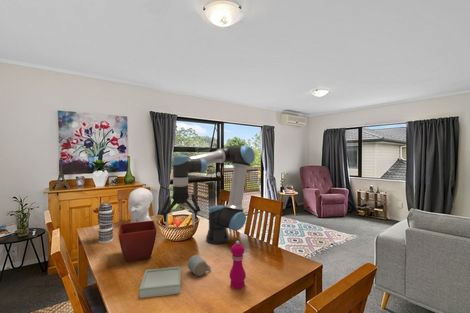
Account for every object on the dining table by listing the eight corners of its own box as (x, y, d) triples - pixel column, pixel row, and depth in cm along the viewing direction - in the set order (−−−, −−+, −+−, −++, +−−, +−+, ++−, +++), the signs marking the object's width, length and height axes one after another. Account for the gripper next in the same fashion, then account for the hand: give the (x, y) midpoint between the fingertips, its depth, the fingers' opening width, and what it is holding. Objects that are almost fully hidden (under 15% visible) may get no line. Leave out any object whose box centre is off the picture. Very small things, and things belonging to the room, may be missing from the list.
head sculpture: (119, 228, 184) (119, 189, 184) (136, 220, 207) (136, 185, 206) (143, 230, 181) (143, 190, 180) (157, 221, 203) (157, 186, 203)
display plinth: (180, 274, 116) (180, 266, 116) (180, 293, 100) (180, 284, 100) (145, 277, 112) (145, 269, 112) (139, 298, 97) (139, 288, 97)
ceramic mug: (195, 279, 112) (195, 262, 111) (187, 272, 118) (187, 256, 118) (214, 272, 118) (214, 257, 118) (205, 266, 125) (205, 251, 124)
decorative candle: (114, 241, 158) (114, 203, 158) (98, 244, 153) (98, 205, 152) (112, 237, 166) (112, 201, 165) (97, 239, 160) (97, 202, 160)
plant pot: (118, 266, 124) (118, 234, 123) (119, 252, 141) (119, 223, 141) (156, 259, 131) (156, 229, 131) (153, 247, 149) (153, 220, 148)
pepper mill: (228, 281, 110) (229, 238, 110) (244, 280, 111) (244, 237, 110) (229, 290, 103) (230, 244, 102) (246, 289, 103) (246, 243, 103)
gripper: (201, 183, 131) (201, 221, 131) (154, 185, 120) (154, 227, 120) (206, 185, 124) (206, 225, 124) (156, 187, 113) (155, 232, 114)
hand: (180, 226), depth 122 cm, fingers open, 13 cm apart
